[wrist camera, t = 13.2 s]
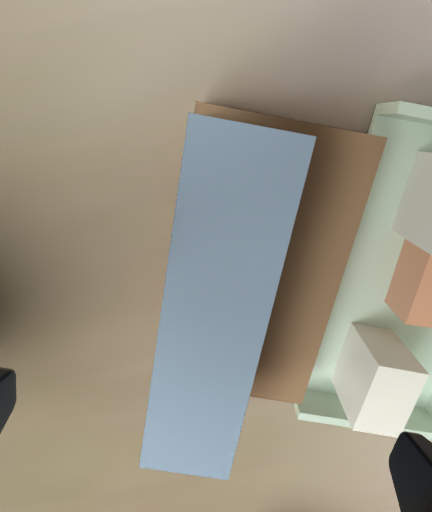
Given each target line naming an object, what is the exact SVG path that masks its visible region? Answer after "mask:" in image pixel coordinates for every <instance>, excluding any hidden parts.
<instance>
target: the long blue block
mask: <svg viewBox="0 0 432 512" xmlns="http://www.w3.org/2000/svg"><path fill="white" fill-rule="evenodd" d="M315 141H316V136H311V135H305V134H300V133H295V132H289V131H284V130H279V129H274V128H268V127H263V126H258V125H252V124H247V123H242V122H236V121H231V120H226V119H220V118H215V117H210V116H204V115H199V114H194V113H189V115H188V122H187V129H186V136H185V143H184V150H183V158H182V165H181V172H180V179H179V186H178V193H177V201H176V208H175V215H174V222H173V229H172V236H171V244H170V251H169V258H168V265H167V272H166V279H165V287H164V294H163V301H162V308H161V315H160V322H159V330H158V337H157V344H156V351H155V358H154V365H153V372H152V380H151V387H150V394H149V401H148V408H147V415H146V423H145V430H144V437H143V444H142V451H141V458H140V466H139V467H140V468H147V469H154V470H161V471H168V472H175V473H182V474H188V475H195V476H202V477H209V478H216V479H223V480H228V478H229V474H230V471H231V467H232V463H233V459H234V455H235V451H236V447H237V443H238V440H239V436H240V432H241V428H242V424H243V420H244V416H245V412H246V408H247V405H248V401H249V397H250V393H251V389H252V385H253V381H254V377H255V374H256V370H257V366H258V362H259V358H260V354H261V350H262V346H263V343H264V339H265V335H266V331H267V327H268V323H269V319H270V315H271V311H272V308H273V304H274V300H275V296H276V292H277V288H278V284H279V280H280V277H281V273H282V269H283V265H284V261H285V257H286V253H287V249H288V245H289V242H290V238H291V234H292V230H293V226H294V222H295V218H296V214H297V211H298V207H299V203H300V199H301V195H302V191H303V187H304V183H305V180H306V176H307V172H308V168H309V164H310V160H311V156H312V152H313V148H314V145H315Z"/></svg>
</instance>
